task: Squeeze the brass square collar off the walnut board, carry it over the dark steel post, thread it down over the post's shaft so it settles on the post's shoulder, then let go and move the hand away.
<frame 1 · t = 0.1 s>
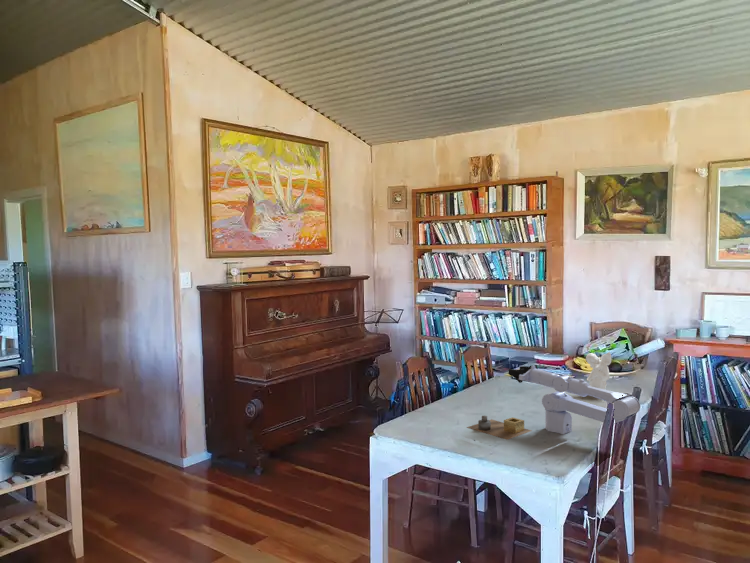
hand: (514, 370, 238), 22 cm above the table, fingers open, 7 cm apart
peg board: (498, 431, 226), on the table
cherub figurine: (600, 394, 281), on the table
brass collar: (513, 430, 224), point 1 cm above the table, touching peg board
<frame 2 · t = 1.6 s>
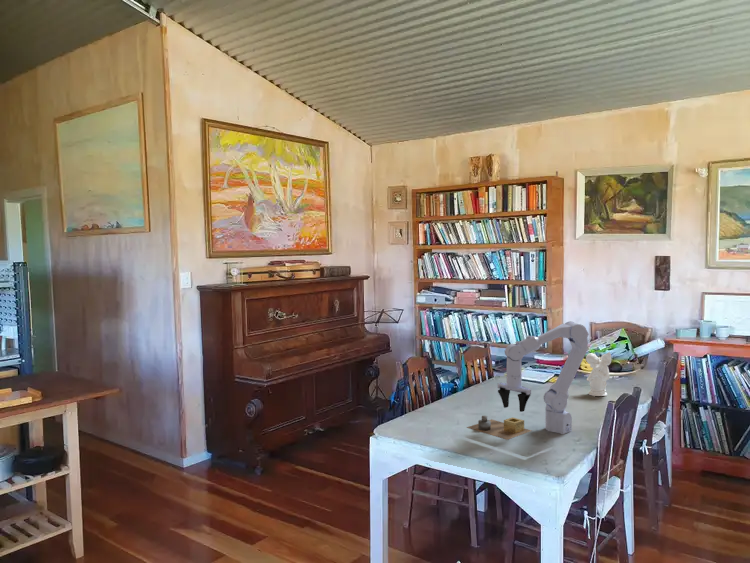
hand: (513, 409, 224), 9 cm above the table, fingers open, 7 cm apart
nothing on the table moved.
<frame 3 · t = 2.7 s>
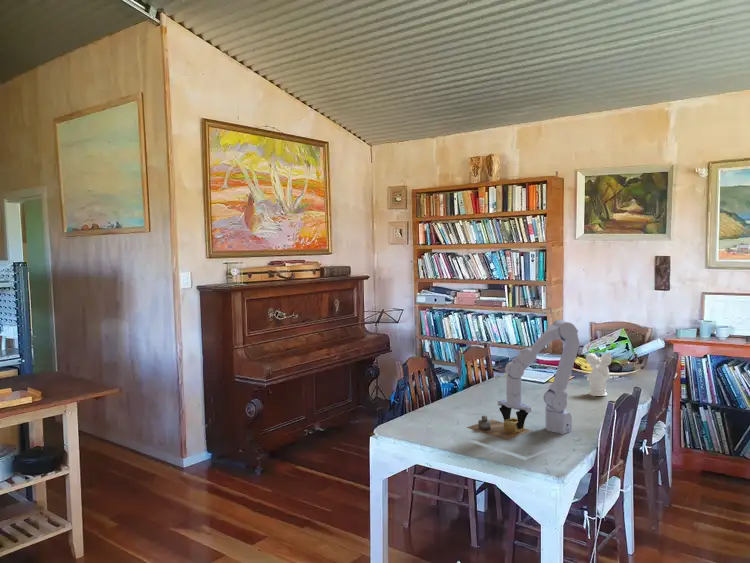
hand: (513, 426, 224), 2 cm above the table, fingers closed on brass collar, 6 cm apart
brass collar: (513, 430, 224), point 1 cm above the table, touching gripper, peg board
everything else where it was.
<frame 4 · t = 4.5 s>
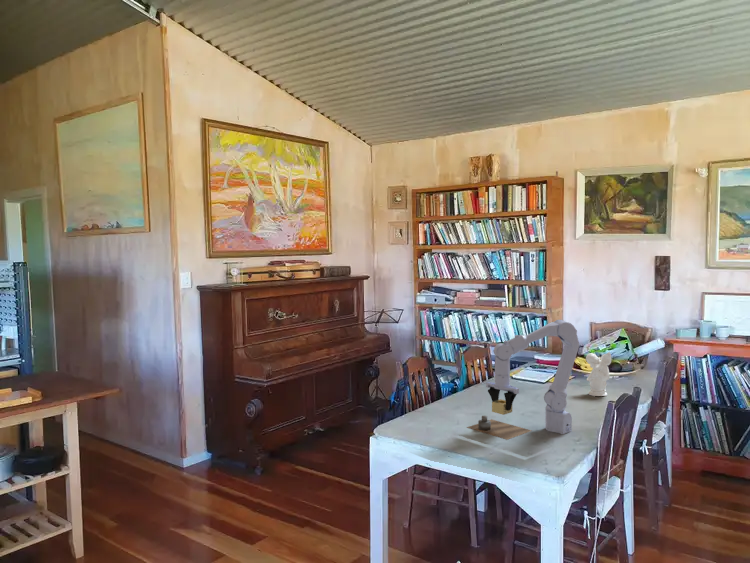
hand: (502, 408, 225), 10 cm above the table, fingers closed on brass collar, 6 cm apart
brass collar: (502, 411, 225), point 8 cm above the table, touching gripper
everything else where it was.
when the fingers open (6 cm above the table, at t = 6.3 s): brass collar stays where it is, resting on peg board.
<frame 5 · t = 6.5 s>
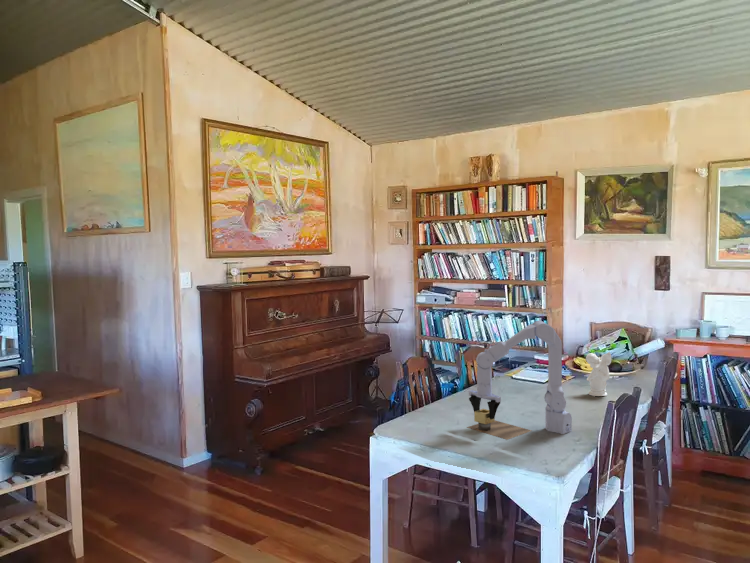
hand: (484, 416, 227), 6 cm above the table, fingers open, 7 cm apart
brass collar: (484, 421, 227), point 4 cm above the table, touching peg board
everything else where it was.
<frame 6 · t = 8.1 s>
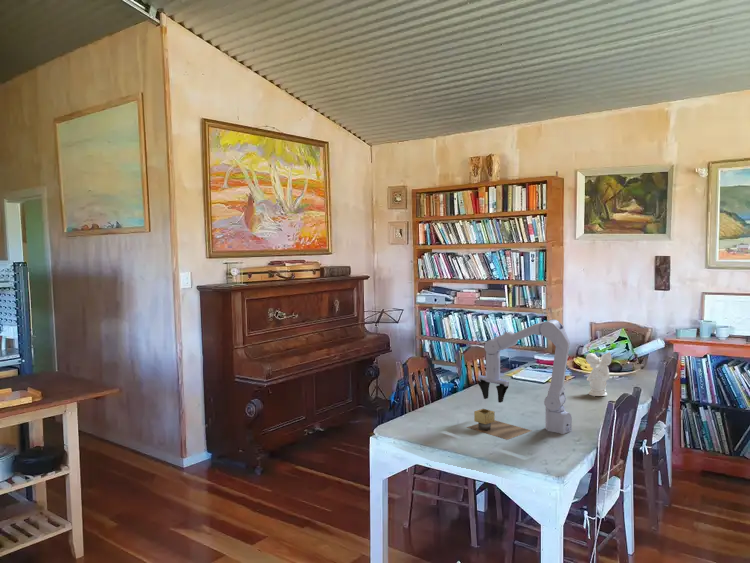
hand: (493, 400, 238), 9 cm above the table, fingers open, 7 cm apart
nothing on the table moved.
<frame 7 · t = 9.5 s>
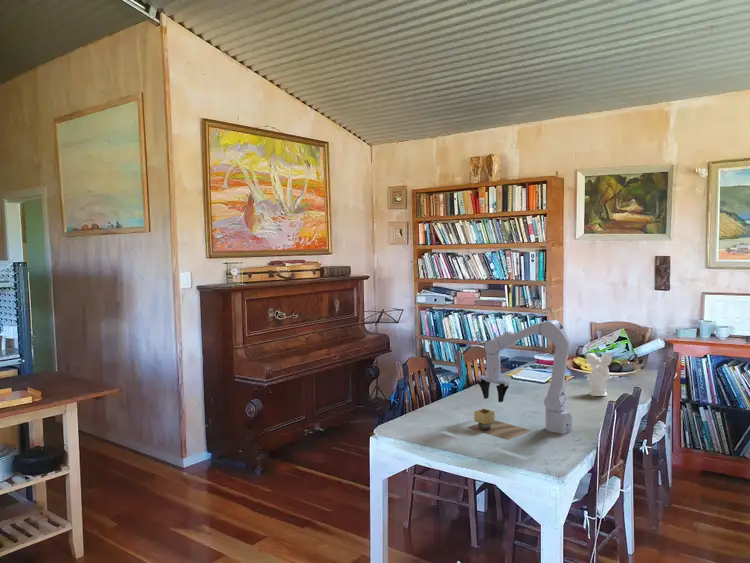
hand: (493, 400, 238), 9 cm above the table, fingers open, 7 cm apart
nothing on the table moved.
at the end: brass collar 0.0 cm from the target spot on the peg board, point 4.0 cm above the peg board's base; brass collar tilted 0°; the gripper is holding nothing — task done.
